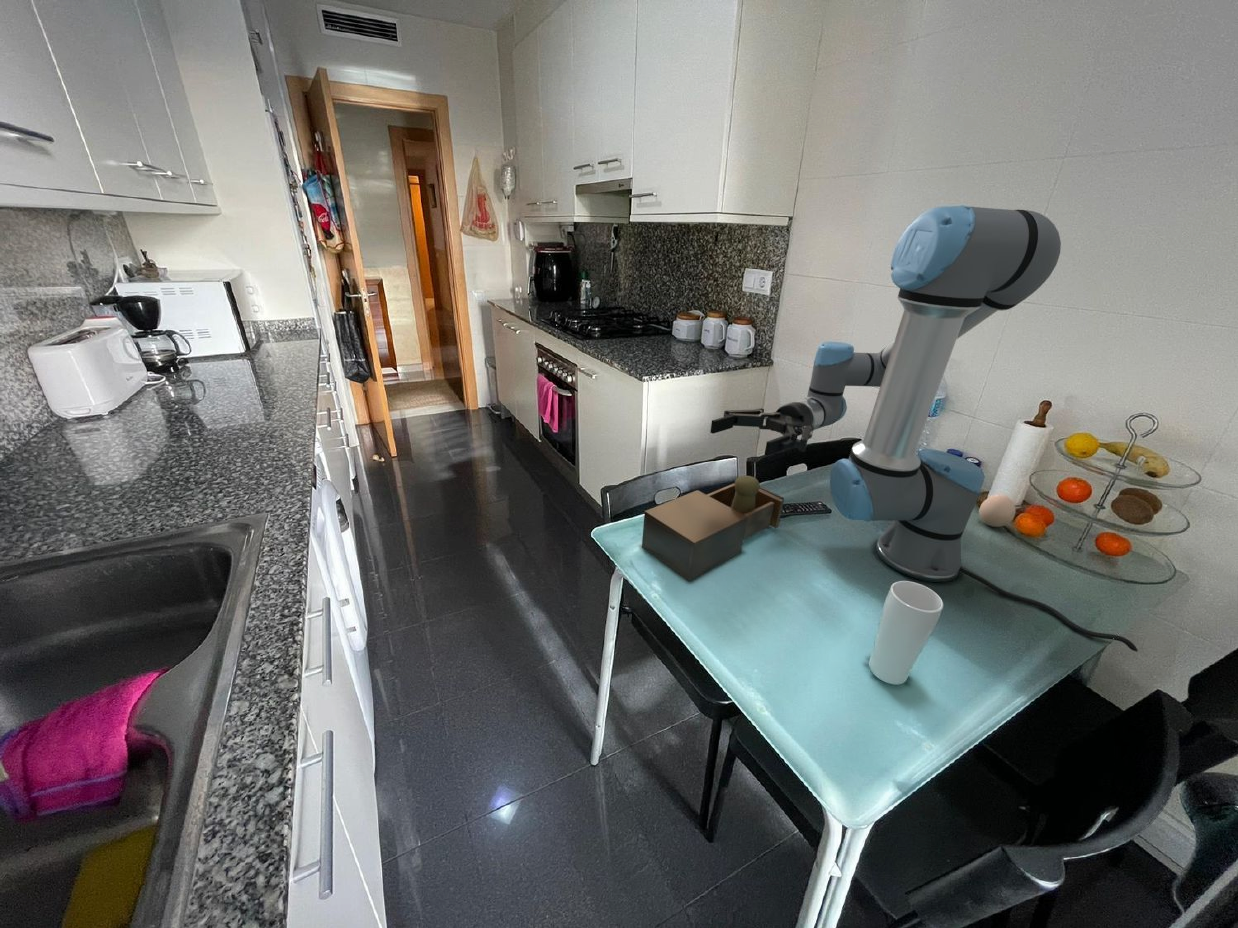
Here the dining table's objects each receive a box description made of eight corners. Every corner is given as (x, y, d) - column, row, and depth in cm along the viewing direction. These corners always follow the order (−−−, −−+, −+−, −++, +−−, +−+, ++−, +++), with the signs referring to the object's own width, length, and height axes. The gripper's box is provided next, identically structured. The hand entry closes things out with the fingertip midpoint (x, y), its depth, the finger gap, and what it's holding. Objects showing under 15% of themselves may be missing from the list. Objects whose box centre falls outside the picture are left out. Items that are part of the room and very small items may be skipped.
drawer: (746, 497, 123) (751, 473, 120) (790, 520, 114) (796, 494, 111) (693, 522, 111) (696, 495, 108) (737, 548, 103) (742, 520, 100)
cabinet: (693, 523, 113) (697, 489, 109) (741, 552, 103) (748, 516, 100) (641, 546, 103) (644, 511, 100) (689, 580, 94) (694, 543, 90)
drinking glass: (856, 671, 76) (883, 594, 70) (871, 648, 81) (898, 573, 74) (904, 698, 72) (937, 619, 66) (917, 672, 77) (949, 595, 70)
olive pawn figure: (751, 533, 106) (759, 487, 102) (723, 525, 109) (730, 480, 104) (757, 520, 111) (765, 476, 106) (730, 512, 114) (737, 469, 109)
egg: (977, 514, 122) (989, 486, 119) (1010, 525, 118) (1023, 496, 115) (971, 524, 118) (983, 495, 115) (1005, 536, 114) (1018, 506, 110)
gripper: (755, 387, 119) (694, 402, 106) (855, 418, 102) (797, 440, 89) (750, 417, 122) (690, 435, 109) (846, 452, 105) (789, 477, 92)
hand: (738, 437), depth 99 cm, fingers open, 13 cm apart
